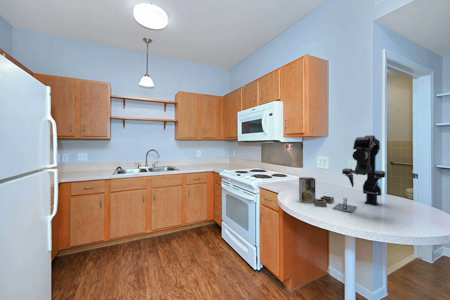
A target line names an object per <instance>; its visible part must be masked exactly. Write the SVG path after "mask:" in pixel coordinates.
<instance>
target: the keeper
mask: <svg viewBox="0 0 450 300" xmlns="http://www.w3.org/2000/svg"><path fill="white" fill-rule="evenodd" d="M357 209H358V206H357V205H351V204H348V198H346V197H343V201H342V203H341V202H339V203H337V204H336V205H334V206H333V208H332V210H334V211H335V210H336V211H340V212H343V213H350V214H353V213H354V212H355V211H356V210H357Z"/></svg>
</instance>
